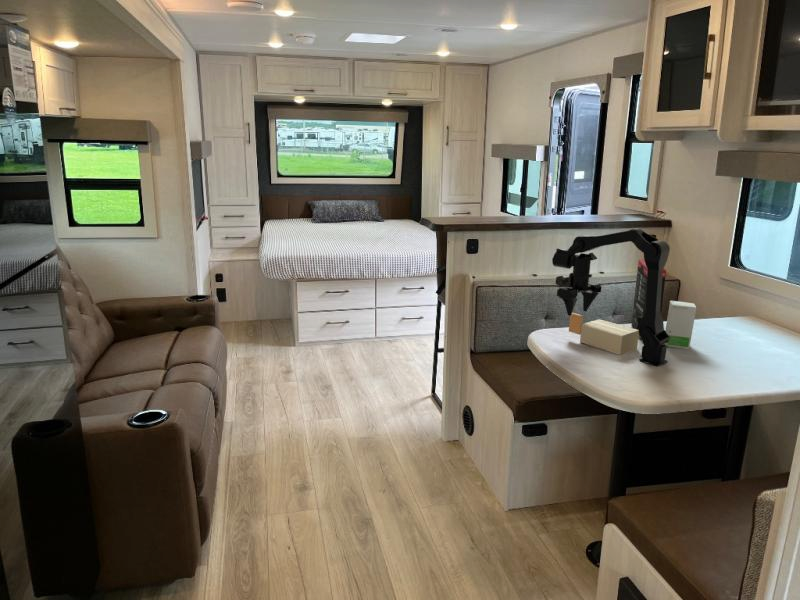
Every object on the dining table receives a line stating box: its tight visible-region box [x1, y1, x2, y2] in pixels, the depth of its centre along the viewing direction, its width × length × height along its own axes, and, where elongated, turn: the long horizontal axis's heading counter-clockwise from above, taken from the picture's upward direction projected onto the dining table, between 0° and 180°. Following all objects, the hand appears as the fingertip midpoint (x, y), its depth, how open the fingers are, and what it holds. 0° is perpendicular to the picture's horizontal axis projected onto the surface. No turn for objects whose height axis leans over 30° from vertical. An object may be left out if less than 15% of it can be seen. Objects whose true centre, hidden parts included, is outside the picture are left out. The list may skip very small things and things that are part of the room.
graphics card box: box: [631, 259, 667, 341], centre depth 221 cm, size 17×7×27 cm, turn 171°
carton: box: [583, 319, 639, 356], centre depth 209 cm, size 16×10×7 cm, turn 38°
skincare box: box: [664, 300, 697, 350], centre depth 210 cm, size 8×7×16 cm
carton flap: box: [568, 312, 623, 355], centre depth 208 cm, size 21×1×10 cm, turn 38°
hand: (577, 313), depth 212 cm, fingers open, 9 cm apart
